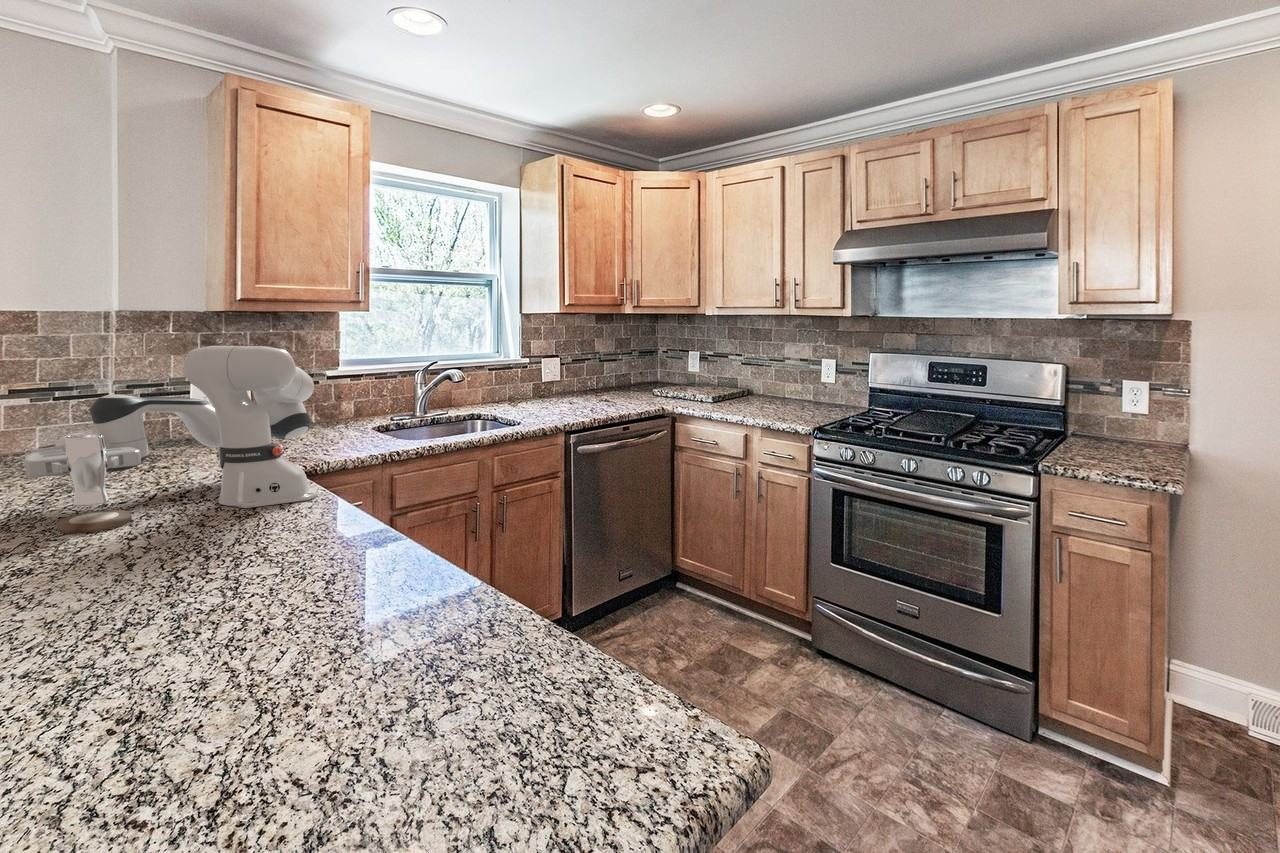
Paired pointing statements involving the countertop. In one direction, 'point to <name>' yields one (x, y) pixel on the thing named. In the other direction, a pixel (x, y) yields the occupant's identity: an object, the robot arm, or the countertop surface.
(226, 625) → the countertop surface
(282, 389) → the robot arm
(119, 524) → the walnut board
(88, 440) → the beer glass
